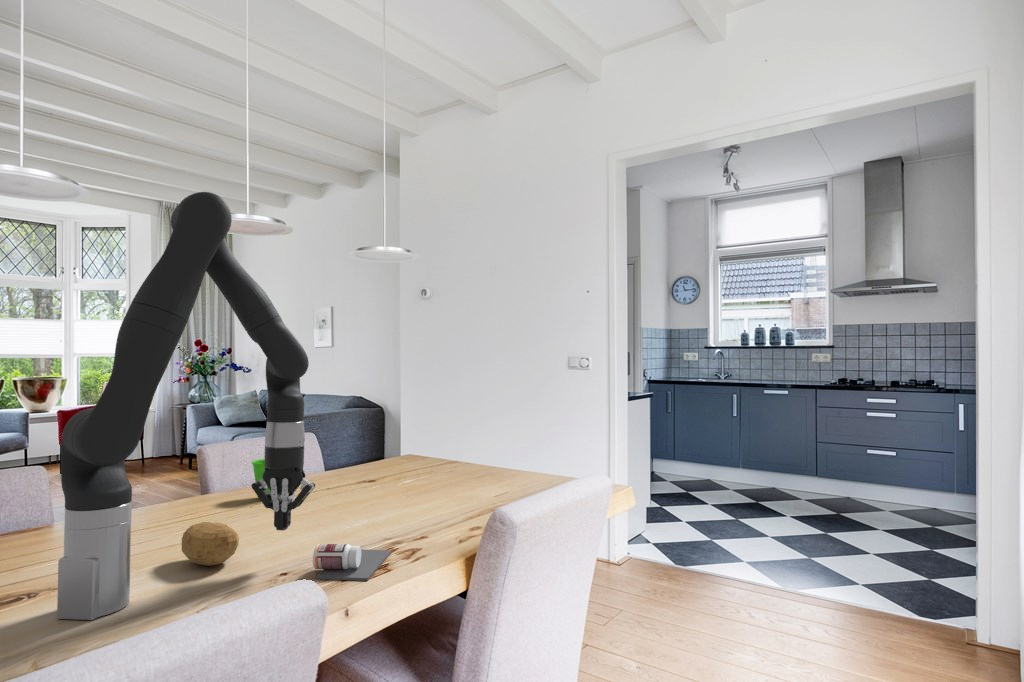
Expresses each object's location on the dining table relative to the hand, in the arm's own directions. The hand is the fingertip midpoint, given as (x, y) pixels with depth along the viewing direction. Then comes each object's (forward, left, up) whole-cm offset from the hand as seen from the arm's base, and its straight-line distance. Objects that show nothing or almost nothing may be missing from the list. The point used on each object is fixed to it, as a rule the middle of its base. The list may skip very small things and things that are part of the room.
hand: (282, 529), depth 120 cm
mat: (+1, -15, -7) cm, 17 cm away
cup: (+53, +30, -7) cm, 62 cm away
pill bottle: (-3, -8, -4) cm, 10 cm away
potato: (-1, +15, -7) cm, 17 cm away
